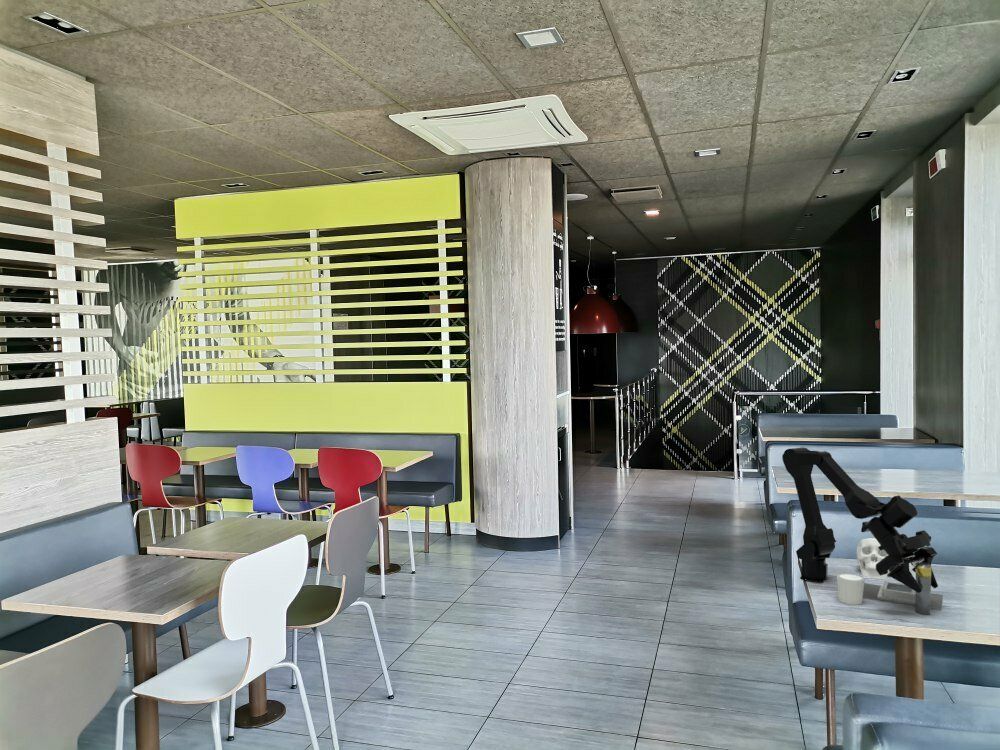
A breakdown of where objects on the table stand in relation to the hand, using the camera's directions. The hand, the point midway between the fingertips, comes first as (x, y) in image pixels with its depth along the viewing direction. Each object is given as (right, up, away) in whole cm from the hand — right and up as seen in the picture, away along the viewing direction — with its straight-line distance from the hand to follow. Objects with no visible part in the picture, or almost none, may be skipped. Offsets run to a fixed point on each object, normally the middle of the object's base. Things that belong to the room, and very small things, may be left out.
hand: (928, 589), depth 186 cm
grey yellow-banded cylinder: (-1, -7, +1) cm, 7 cm away
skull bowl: (+5, -6, +36) cm, 36 cm away
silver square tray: (0, -6, +13) cm, 14 cm away
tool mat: (-1, -6, +14) cm, 16 cm away
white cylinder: (-15, -7, +11) cm, 20 cm away
